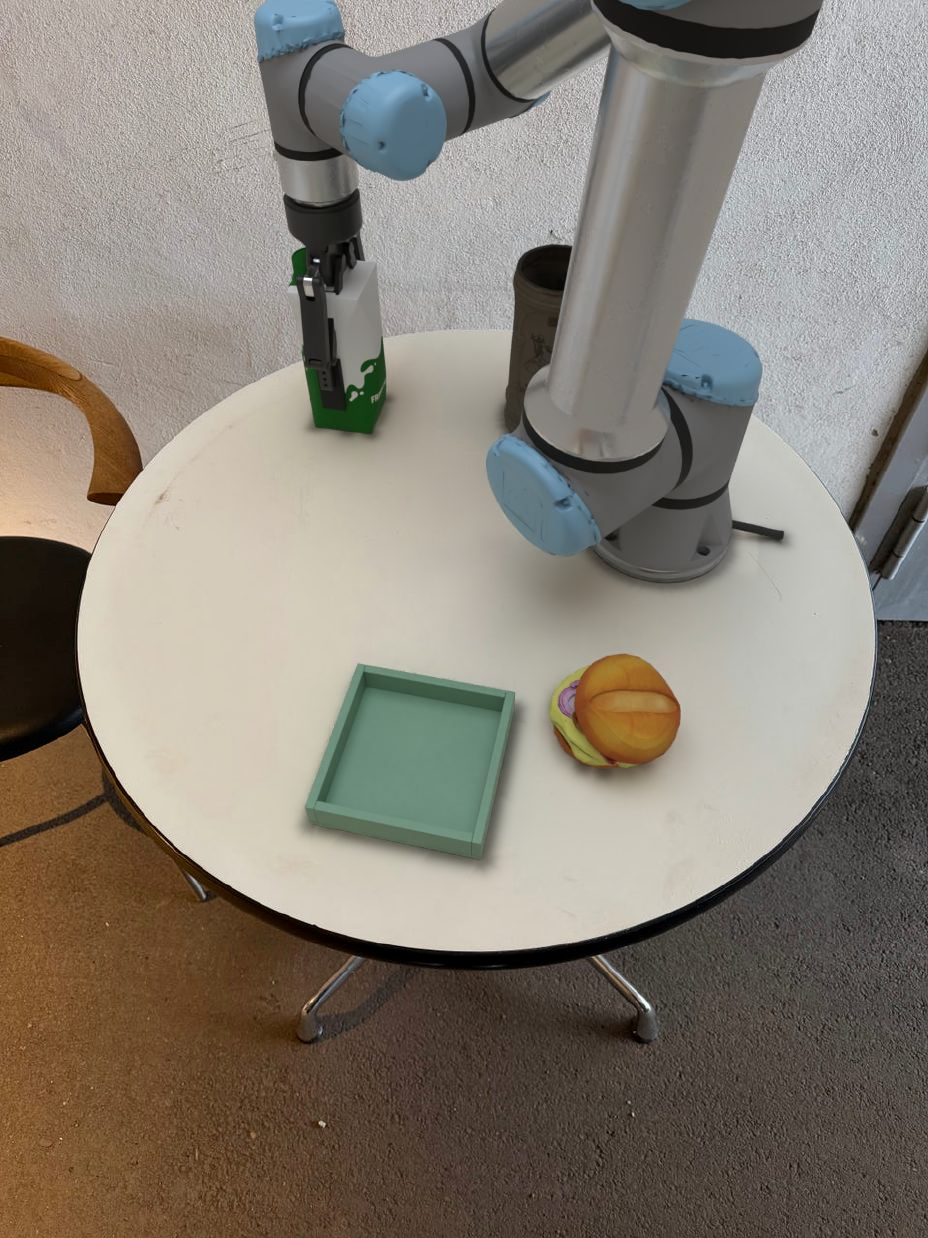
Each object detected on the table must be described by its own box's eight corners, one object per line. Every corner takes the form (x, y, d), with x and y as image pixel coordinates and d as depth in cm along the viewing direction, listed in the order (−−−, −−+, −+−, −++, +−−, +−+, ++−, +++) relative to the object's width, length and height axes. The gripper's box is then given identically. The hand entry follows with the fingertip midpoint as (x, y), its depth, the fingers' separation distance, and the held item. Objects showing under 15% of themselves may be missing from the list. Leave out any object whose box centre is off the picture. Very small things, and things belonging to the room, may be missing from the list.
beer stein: (489, 439, 101) (506, 285, 85) (506, 384, 108) (524, 231, 92) (617, 464, 100) (659, 312, 84) (627, 407, 106) (667, 256, 90)
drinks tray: (514, 710, 78) (515, 691, 76) (481, 860, 69) (481, 844, 67) (361, 681, 80) (357, 662, 78) (309, 824, 71) (304, 807, 69)
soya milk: (326, 386, 108) (301, 232, 92) (396, 395, 107) (383, 240, 91) (305, 431, 103) (274, 275, 87) (378, 440, 101) (360, 284, 86)
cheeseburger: (601, 657, 81) (636, 608, 73) (677, 745, 78) (722, 705, 70) (521, 713, 77) (547, 669, 69) (597, 809, 74) (636, 774, 66)
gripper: (319, 138, 90) (344, 327, 108) (243, 240, 77) (286, 436, 95) (387, 144, 89) (401, 334, 107) (322, 249, 76) (350, 446, 94)
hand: (347, 382), depth 101 cm, fingers closed on soya milk, 9 cm apart
